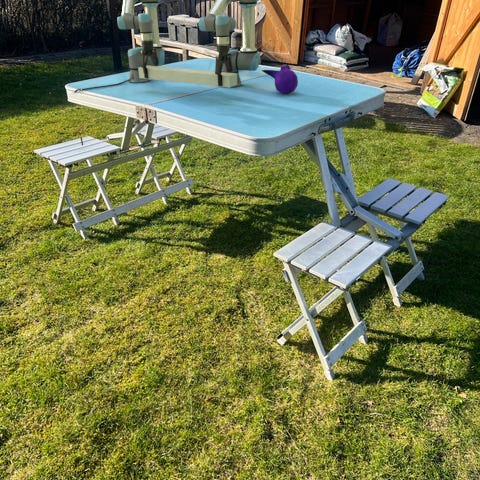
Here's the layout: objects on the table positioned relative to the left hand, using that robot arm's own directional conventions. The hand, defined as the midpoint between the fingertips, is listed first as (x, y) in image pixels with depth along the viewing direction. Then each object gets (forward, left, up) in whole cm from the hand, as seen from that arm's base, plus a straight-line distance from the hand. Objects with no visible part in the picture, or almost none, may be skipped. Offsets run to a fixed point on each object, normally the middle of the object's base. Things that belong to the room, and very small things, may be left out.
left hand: (151, 76), depth 300 cm
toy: (+81, -33, -10) cm, 88 cm away
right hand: (+39, -43, 0) cm, 58 cm away
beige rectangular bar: (+19, -22, 0) cm, 29 cm away
